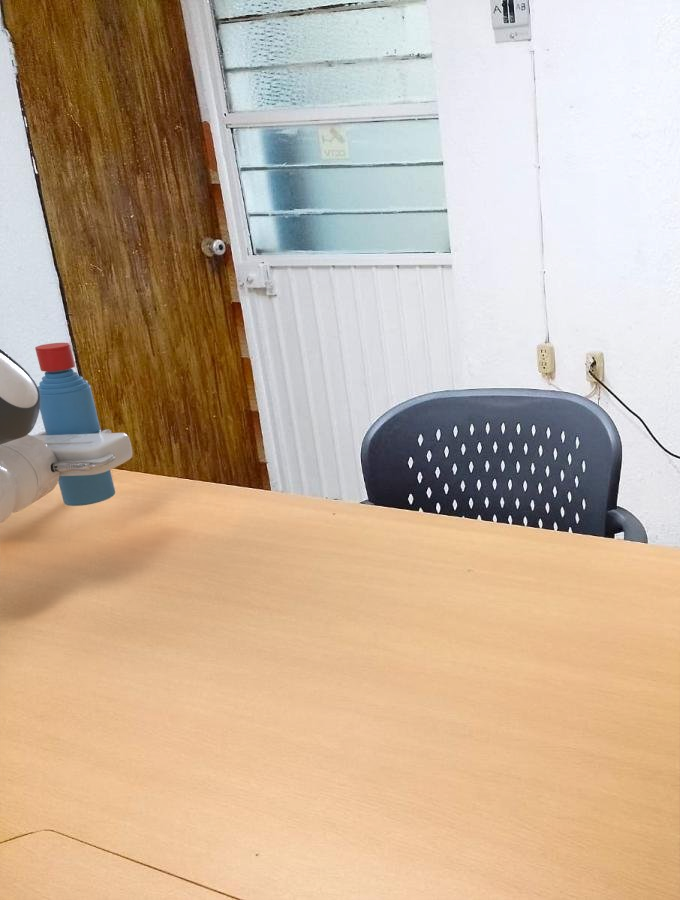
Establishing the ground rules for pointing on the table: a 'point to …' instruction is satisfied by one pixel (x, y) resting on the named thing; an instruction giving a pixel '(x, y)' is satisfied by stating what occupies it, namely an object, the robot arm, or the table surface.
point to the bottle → (73, 431)
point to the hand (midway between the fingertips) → (78, 435)
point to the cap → (55, 357)
